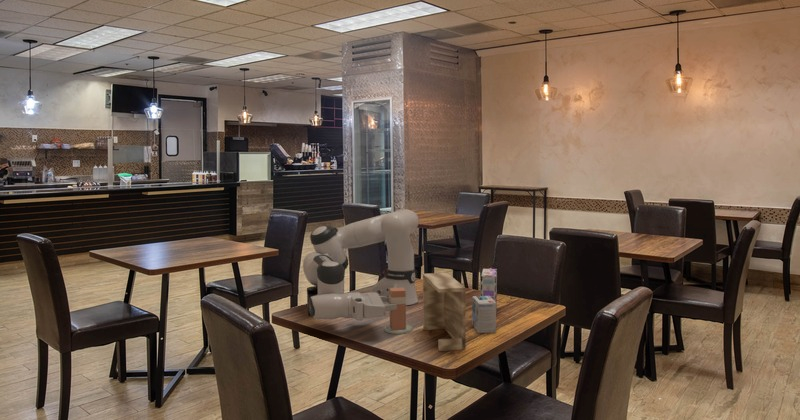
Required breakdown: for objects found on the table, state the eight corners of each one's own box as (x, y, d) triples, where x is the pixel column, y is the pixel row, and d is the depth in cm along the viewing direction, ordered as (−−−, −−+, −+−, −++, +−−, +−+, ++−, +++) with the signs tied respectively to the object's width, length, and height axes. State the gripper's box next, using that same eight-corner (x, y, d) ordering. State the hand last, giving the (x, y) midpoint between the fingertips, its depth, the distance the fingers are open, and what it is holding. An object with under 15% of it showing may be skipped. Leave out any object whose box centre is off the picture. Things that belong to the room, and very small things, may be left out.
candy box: (495, 318, 217) (496, 275, 215) (480, 317, 218) (480, 275, 217) (497, 308, 231) (497, 268, 229) (482, 307, 232) (482, 267, 230)
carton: (392, 330, 201) (391, 291, 199) (389, 326, 206) (389, 288, 204) (406, 329, 202) (405, 290, 200) (403, 325, 207) (403, 287, 205)
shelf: (439, 351, 181) (438, 289, 179) (423, 329, 204) (422, 273, 202) (465, 349, 183) (465, 287, 181) (446, 327, 206) (446, 272, 204)
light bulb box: (471, 324, 210) (471, 295, 208) (489, 323, 210) (489, 295, 209) (478, 333, 199) (478, 303, 198) (496, 332, 199) (497, 302, 198)
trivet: (378, 331, 202) (378, 329, 202) (392, 324, 211) (392, 322, 211) (403, 335, 197) (403, 333, 197) (416, 327, 206) (416, 325, 206)
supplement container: (320, 310, 230) (319, 285, 229) (327, 314, 225) (326, 288, 224) (304, 313, 227) (303, 287, 225) (311, 317, 221) (311, 291, 220)
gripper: (352, 305, 211) (389, 303, 213) (358, 322, 191) (399, 319, 193) (352, 289, 210) (389, 287, 212) (358, 303, 190) (399, 301, 192)
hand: (394, 302), depth 203 cm, fingers open, 8 cm apart
